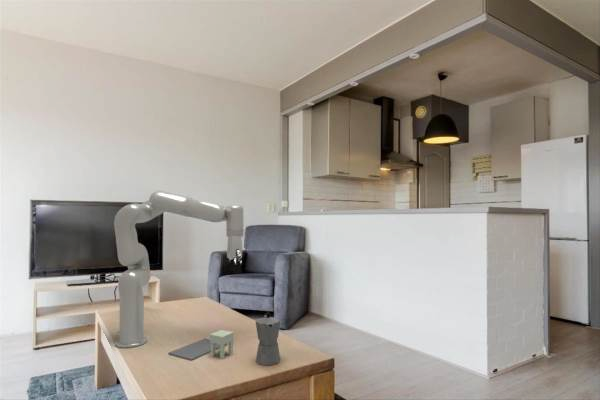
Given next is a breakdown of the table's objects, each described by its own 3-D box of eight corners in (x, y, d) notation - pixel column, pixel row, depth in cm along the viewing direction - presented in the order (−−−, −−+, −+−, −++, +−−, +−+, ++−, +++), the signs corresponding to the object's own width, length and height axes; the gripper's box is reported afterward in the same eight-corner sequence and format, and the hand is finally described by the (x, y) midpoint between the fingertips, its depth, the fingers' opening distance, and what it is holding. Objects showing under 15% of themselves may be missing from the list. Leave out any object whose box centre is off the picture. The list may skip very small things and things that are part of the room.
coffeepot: (283, 366, 135) (283, 316, 136) (257, 369, 133) (257, 318, 134) (276, 351, 150) (276, 306, 151) (253, 353, 148) (253, 307, 149)
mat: (168, 354, 148) (168, 352, 148) (205, 339, 165) (205, 338, 165) (191, 360, 142) (191, 359, 142) (227, 344, 159) (227, 343, 159)
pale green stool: (209, 356, 146) (210, 334, 146) (221, 351, 151) (221, 329, 152) (222, 359, 143) (222, 337, 143) (233, 353, 148) (233, 332, 148)
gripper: (222, 232, 173) (223, 270, 172) (230, 234, 157) (230, 275, 156) (238, 232, 176) (239, 269, 175) (248, 233, 160) (248, 274, 159)
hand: (235, 272), depth 166 cm, fingers open, 9 cm apart
